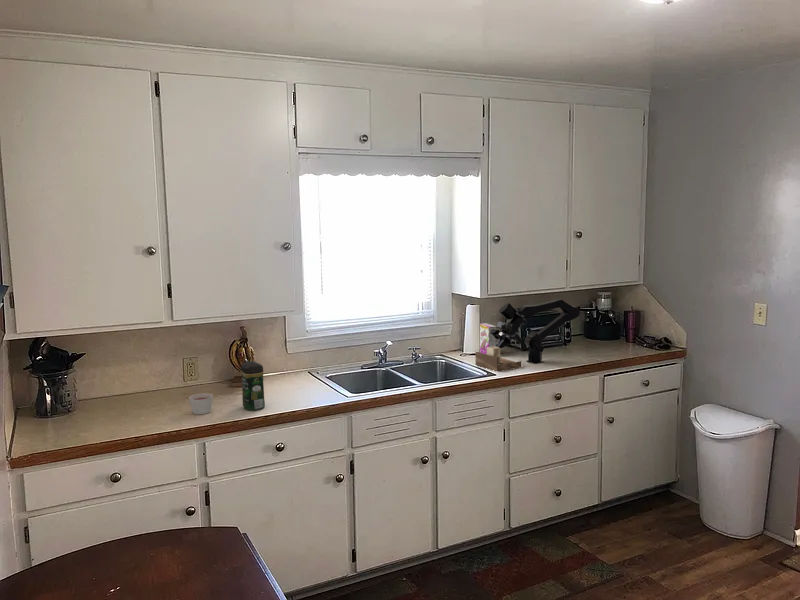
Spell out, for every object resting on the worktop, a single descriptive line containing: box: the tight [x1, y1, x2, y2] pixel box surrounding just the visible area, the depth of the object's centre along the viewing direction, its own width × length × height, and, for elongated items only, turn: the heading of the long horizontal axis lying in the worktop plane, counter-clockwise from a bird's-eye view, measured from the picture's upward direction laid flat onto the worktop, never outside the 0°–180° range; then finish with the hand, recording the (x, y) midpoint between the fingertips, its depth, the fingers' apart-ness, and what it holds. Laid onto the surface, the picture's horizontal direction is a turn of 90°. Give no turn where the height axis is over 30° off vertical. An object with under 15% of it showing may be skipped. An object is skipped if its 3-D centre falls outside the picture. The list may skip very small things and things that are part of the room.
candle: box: [188, 392, 214, 415], centre depth 256 cm, size 9×9×6 cm
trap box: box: [475, 351, 522, 372], centre depth 328 cm, size 16×16×7 cm
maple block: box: [487, 346, 501, 364], centre depth 326 cm, size 4×5×8 cm
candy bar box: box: [479, 322, 497, 354], centre depth 355 cm, size 11×5×16 cm, turn 22°
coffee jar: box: [240, 360, 266, 411], centre depth 261 cm, size 10×8×19 cm
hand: (497, 349), depth 327 cm, fingers closed
